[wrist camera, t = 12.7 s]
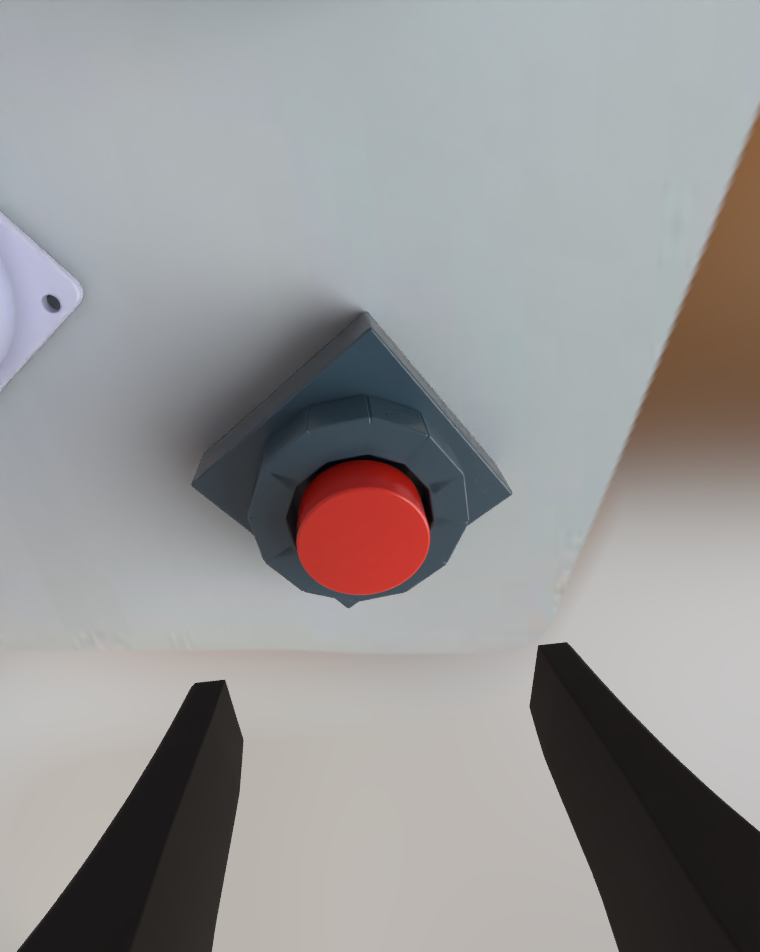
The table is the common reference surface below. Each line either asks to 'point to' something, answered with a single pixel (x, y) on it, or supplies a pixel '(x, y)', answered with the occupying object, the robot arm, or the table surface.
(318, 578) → the button
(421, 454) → the control box
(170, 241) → the table surface
